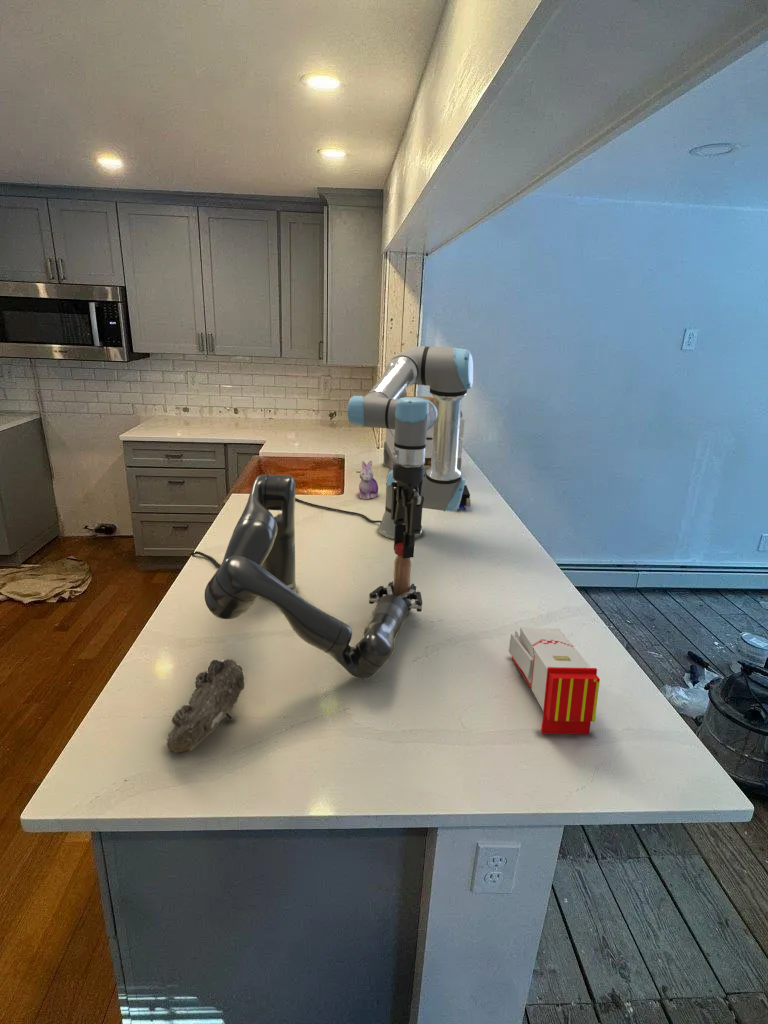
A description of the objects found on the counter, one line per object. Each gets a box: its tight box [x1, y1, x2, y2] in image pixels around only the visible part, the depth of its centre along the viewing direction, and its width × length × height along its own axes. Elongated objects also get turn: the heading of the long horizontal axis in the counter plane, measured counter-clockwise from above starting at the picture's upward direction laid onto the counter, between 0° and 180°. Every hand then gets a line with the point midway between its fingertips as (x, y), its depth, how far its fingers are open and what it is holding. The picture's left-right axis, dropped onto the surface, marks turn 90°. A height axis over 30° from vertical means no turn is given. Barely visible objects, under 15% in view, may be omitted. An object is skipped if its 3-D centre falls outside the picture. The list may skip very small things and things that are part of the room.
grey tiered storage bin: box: [383, 389, 465, 473], centre depth 268 cm, size 34×33×41 cm
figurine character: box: [456, 484, 471, 512], centre depth 229 cm, size 7×8×15 cm
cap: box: [394, 542, 403, 556], centre depth 143 cm, size 4×4×2 cm
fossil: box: [166, 658, 245, 754], centre depth 106 cm, size 22×10×15 cm
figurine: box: [358, 460, 379, 500], centre depth 236 cm, size 9×10×15 cm
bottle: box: [392, 555, 413, 615], centre depth 146 cm, size 4×4×18 cm
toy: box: [508, 627, 601, 735], centre depth 119 cm, size 12×13×30 cm
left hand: (403, 585), depth 149 cm, fingers closed on bottle, 4 cm apart
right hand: (403, 553), depth 143 cm, fingers open, 4 cm apart
